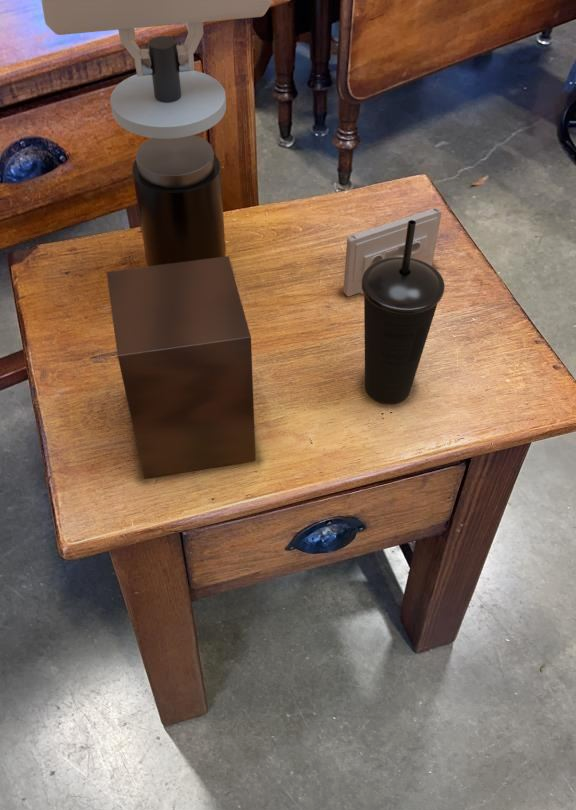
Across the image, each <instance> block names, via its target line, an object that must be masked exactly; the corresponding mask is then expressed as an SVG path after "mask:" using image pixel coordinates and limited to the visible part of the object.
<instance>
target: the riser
mask: <svg viewBox="0 0 576 810" xmlns="http://www.w3.org/2000/svg"><path fill="white" fill-rule="evenodd" d="M106 280H107V288H108V294H109V302H110V308H111V309H110V310H111V317H112V325H113V332H114V339H115V347H116V354H117V359H118V365H119V369H120V374H121V379H122V383H123V388H124V393H125V396H126V401H127V406H128V410H129V411H128V412H129V416H130V419H131V420H130V421H131V425H132V430H133V434H134V439H135V443H136V448H137V453H138V457H139V462H140V466H141V471H142V475H143V479H149V478H156V477H162V476H169V475H174V474H175V475H176V474H180V473H188V472H194V471H199V470H206V469H213V468H218V467H219V468H220V467H225V466H231V465H238V464H243V463H250V462H256V460H257V457H256V456H257V455H256V432H255V431H256V429H255V428H256V427H255V406H254V405H255V404H254V382H253V381H254V380H253V355H252V353H253V352H252V350H253V349H252V336H251V331H250V329H249V325H248V321H247V318H246V314H245V311H244V307H243V304H242V303H243V302H242V300H241V296H240V293H239V289H238V285H237V281H236V278H235V274H234V271H233V268H232V263H231V260H230V256H228V255H226V257H218V258H211V259H203V260H195V261H187V262H179V263H171V264H164V265H156V266H148V267H147V266H141V267H140V266H139V267H134V268H127V269H117V270H109V271H106Z"/></svg>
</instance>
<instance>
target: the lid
mask: <svg viewBox="0 0 576 810" xmlns="http://www.w3.org/2000/svg"><path fill="white" fill-rule="evenodd" d="M177 46H178V45H177V41H176V39H174V38H173V37H172V36H171V37H170V36H167V35H163V36H162V35H161V36H156V37H152V38H151V39H149V41H148V43H147V47H148V49H149V54H150V57H151V64H152V65H151V67H152V72H153V75H146V76H137V73H136V74H133V75H131V76H129V77H127V78H125V79H123V80H122V81H121V82H119V83H118V84H117V85H116V86H115V88H114V89H113V90H112V92H111V94H110V98H109V100H110V101H109V103H110V108H111V114H112V117H113V120H114V121H115V122H116V123H117V125H118V126H120V127H121V128H122V129H123V130H125V131H126V132H128V133H131V134H133V135H137V136H141V137H144V138H149V139H151V138H158V139H172V138H181V137H187V136H191V135H195V136H196V135H197V134H201V133H203V132H205V131H208V130H210V129H211V128H213V127H214V126H216V125H217V124H218V123H219V122H220V121H221V120H222V119H223V118H224V116H225V114H226V110H227V98H226V97H227V96H226V90H225V88H224V86H223V85H222V84H221V82H220V81H218V80H217V79H215V78H214V77H212V76H211V75H210V74H207V73H204V72H201V71H197V70H194V71H187V72H179V67H178V57H177Z"/></svg>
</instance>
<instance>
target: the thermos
mask: <svg viewBox="0 0 576 810" xmlns="http://www.w3.org/2000/svg"><path fill="white" fill-rule="evenodd" d="M221 171H222V170H221V163H220V160H219V158H218V156H217V155H216V154H215V153H214V149H213V147H212V145H211V144H210V143H209V141H207V140H206V139H204V138H203V137H201V136H198V135H196V134H195V135H191V136H187V137H181V138H172V139H158V138H149V139H147V140H146V141H144V142H143V143H142V144H140V146H139V147H138V148H137V151H136V154H135V160H134V162H133V164H132V168H131V173H132V180H133V185H134V192H135V199H136V203H137V205H136V206H137V211H138V217H139V218H138V219H139V224H140V228H141V236H142V243H143V248H144V255H145V262H146V267H148V266H156V265H164V264H171V263H179V262H187V261H195V260H203V259H211V258H218V257H226V256H227V250H226V249H227V248H226V234H225V220H224V219H225V218H224V203H223V188H222V187H223V186H222V174H221V173H222V172H221Z"/></svg>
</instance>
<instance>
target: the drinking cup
mask: <svg viewBox="0 0 576 810" xmlns="http://www.w3.org/2000/svg"><path fill="white" fill-rule="evenodd" d="M415 226H416V222H415V221H414V220H410V221H408V227H407V234H406V241H405V248H404V255H403V257H392V258H386V259H383V260H380V261H377V262H375V263H374V264H372V265H371V266H369V267H368V268H367V270H366V271H365V272H364V274H363V277H362V290H363V293H364V294H363V297H364V299H363V302H364V303H363V305H364V307H363V309H364V310H363V311H364V314H363V315H364V317H363V318H364V319H363V320H364V321H363V323H364V326H363V327H364V330H363V331H364V333H363V334H364V390H365V392H366V395H368V397H369V398H371V400H373V401H375V402H377V403H379V404H385V405H394V404H395V405H396V404H399V403H402V402H404V401H405V400H406V399H407V398H408V397H409V396H410V393H411V390H412V388H413V384H414V382H415V381H414V380H415V377H416V375H417V371H418V368H419V364H420V361H421V358H422V355H423V352H424V349H425V345H426V343H427V339H428V335H429V333H430V329H431V326H432V323H433V320H434V316H435V314H436V310H437V307H438V303H440V302H441V300H442V299H443V296H444V295H445V293H444V292H445V280H444V278H443V276H442V275H441V273H440V271H438V269H436V268H435V267H434V266H433V265H432V266H431V265H429V264H427V263H425V262H423V261H420V260H417V259H413V258H411V252H412V246H413V239H414V233H415Z"/></svg>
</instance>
